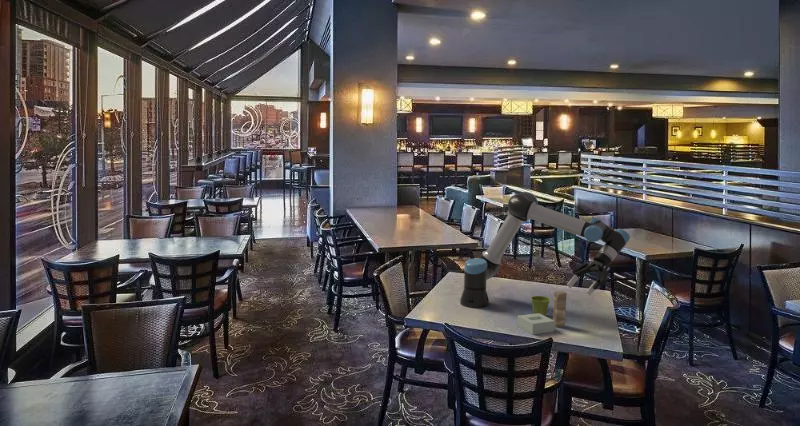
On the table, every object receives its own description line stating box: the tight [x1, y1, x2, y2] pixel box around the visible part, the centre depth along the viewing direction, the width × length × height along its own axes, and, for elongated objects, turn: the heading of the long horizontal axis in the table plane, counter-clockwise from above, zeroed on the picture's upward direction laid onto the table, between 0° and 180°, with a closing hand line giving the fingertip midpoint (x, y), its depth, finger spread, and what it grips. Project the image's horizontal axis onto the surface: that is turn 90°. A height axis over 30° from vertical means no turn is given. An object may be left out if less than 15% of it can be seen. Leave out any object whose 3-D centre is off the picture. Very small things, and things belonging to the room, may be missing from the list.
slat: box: [552, 291, 568, 328], centre depth 249 cm, size 2×5×16 cm, turn 112°
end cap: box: [516, 313, 556, 335], centre depth 245 cm, size 12×12×5 cm
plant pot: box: [530, 295, 551, 317], centre depth 265 cm, size 9×9×9 cm
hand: (578, 289), depth 252 cm, fingers open, 13 cm apart
